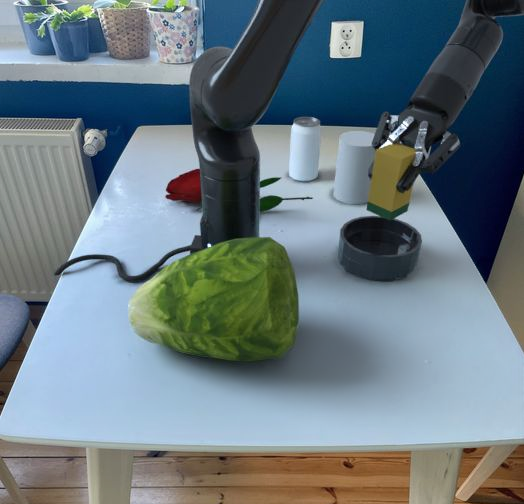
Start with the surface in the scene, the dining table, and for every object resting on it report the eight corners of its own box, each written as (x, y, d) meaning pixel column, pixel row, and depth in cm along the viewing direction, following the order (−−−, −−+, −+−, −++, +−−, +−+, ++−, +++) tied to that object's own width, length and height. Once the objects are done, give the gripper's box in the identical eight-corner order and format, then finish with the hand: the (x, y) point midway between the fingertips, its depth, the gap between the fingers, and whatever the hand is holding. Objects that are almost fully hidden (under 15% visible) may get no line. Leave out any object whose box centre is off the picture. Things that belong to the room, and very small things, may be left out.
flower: (314, 157, 100) (163, 156, 106) (308, 200, 97) (152, 195, 103) (317, 189, 108) (176, 185, 114) (312, 228, 105) (167, 223, 111)
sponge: (384, 201, 91) (394, 141, 84) (407, 211, 88) (420, 150, 82) (366, 210, 88) (375, 149, 82) (389, 220, 86) (401, 159, 79)
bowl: (336, 279, 91) (339, 253, 88) (337, 237, 101) (340, 213, 98) (419, 285, 90) (426, 259, 86) (412, 243, 100) (417, 218, 97)
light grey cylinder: (379, 200, 113) (388, 143, 105) (344, 206, 110) (352, 148, 102) (359, 184, 118) (367, 128, 110) (326, 190, 116) (332, 133, 108)
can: (315, 183, 118) (320, 128, 110) (286, 180, 119) (289, 125, 111) (319, 171, 123) (324, 117, 115) (291, 168, 124) (294, 114, 116)
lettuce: (156, 368, 83) (147, 262, 83) (307, 354, 80) (298, 244, 80) (111, 374, 67) (99, 243, 67) (299, 358, 63) (286, 219, 63)
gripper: (401, 61, 83) (340, 158, 85) (485, 82, 75) (417, 189, 77) (413, 91, 89) (357, 181, 91) (492, 113, 82) (429, 211, 83)
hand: (385, 184), depth 84 cm, fingers closed on sponge, 4 cm apart
